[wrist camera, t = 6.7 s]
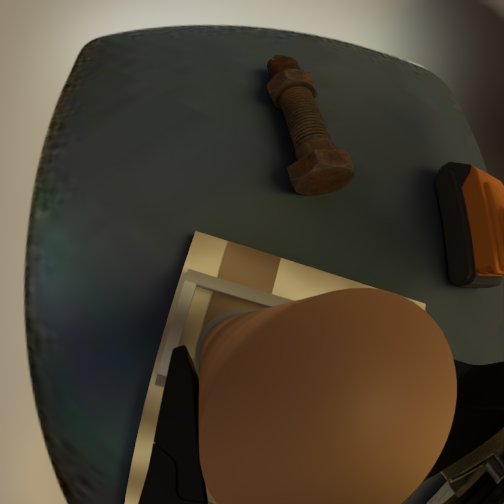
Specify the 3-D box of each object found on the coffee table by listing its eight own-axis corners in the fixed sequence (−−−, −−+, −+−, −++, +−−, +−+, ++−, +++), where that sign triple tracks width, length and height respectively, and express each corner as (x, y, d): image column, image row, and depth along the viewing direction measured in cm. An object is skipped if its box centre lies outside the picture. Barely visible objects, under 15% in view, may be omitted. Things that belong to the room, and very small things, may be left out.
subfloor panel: (331, 548, 17) (341, 561, 14) (122, 527, 15) (116, 543, 12) (417, 305, 24) (436, 302, 22) (195, 235, 22) (195, 224, 20)
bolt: (279, 86, 30) (317, 201, 26) (245, 70, 27) (278, 192, 23) (315, 57, 26) (369, 174, 22) (282, 35, 22) (335, 157, 19)
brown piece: (282, 388, 14) (447, 492, 3) (199, 395, 14) (205, 566, 2) (277, 308, 15) (457, 265, 4) (193, 312, 15) (167, 279, 3)
